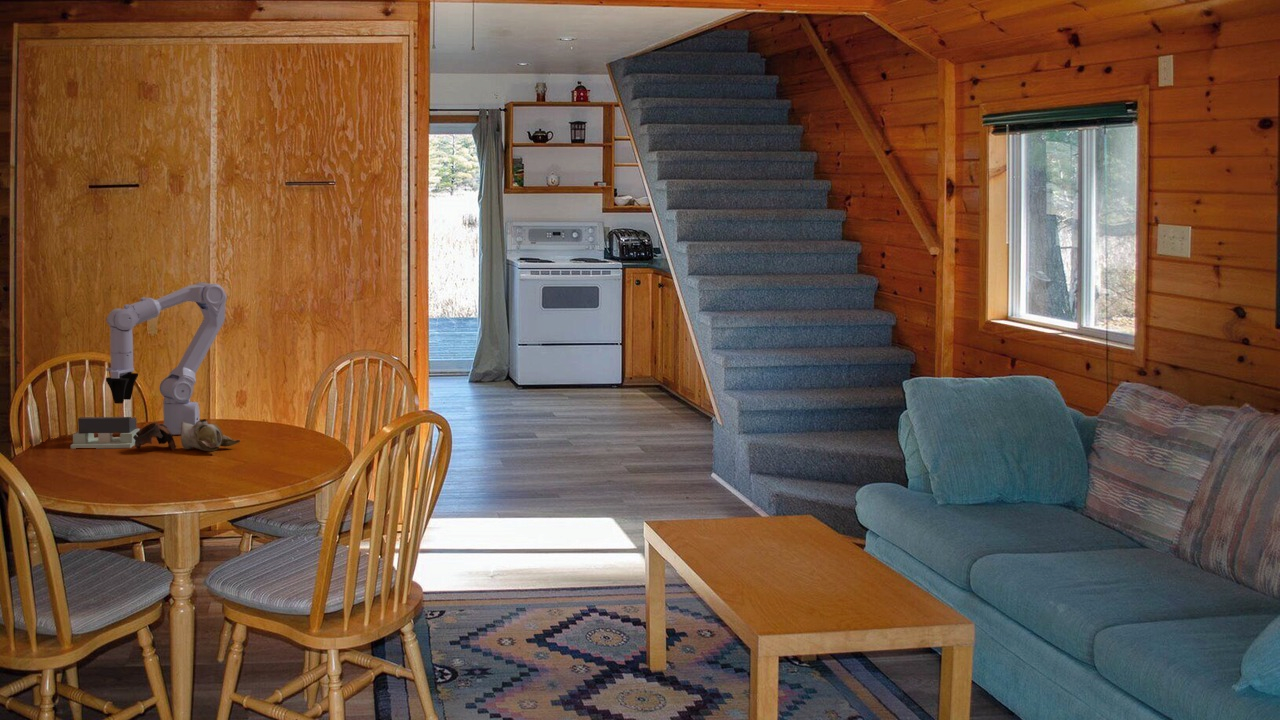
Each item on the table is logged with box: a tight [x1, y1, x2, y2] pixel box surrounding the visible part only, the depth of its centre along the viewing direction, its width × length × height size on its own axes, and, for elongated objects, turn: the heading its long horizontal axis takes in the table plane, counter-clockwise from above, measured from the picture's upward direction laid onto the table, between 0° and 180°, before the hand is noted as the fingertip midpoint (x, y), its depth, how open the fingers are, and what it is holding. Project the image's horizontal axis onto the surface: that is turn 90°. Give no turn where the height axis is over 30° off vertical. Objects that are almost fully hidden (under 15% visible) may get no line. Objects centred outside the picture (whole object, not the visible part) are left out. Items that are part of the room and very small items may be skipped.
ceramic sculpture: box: [180, 418, 241, 453], centre depth 326 cm, size 11×9×15 cm
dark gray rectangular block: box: [77, 416, 138, 434], centre depth 333 cm, size 13×7×4 cm, turn 98°
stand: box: [70, 428, 141, 450], centre depth 332 cm, size 15×11×4 cm
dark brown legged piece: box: [133, 421, 177, 451], centre depth 327 cm, size 12×10×8 cm
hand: (122, 401), depth 339 cm, fingers open, 7 cm apart
